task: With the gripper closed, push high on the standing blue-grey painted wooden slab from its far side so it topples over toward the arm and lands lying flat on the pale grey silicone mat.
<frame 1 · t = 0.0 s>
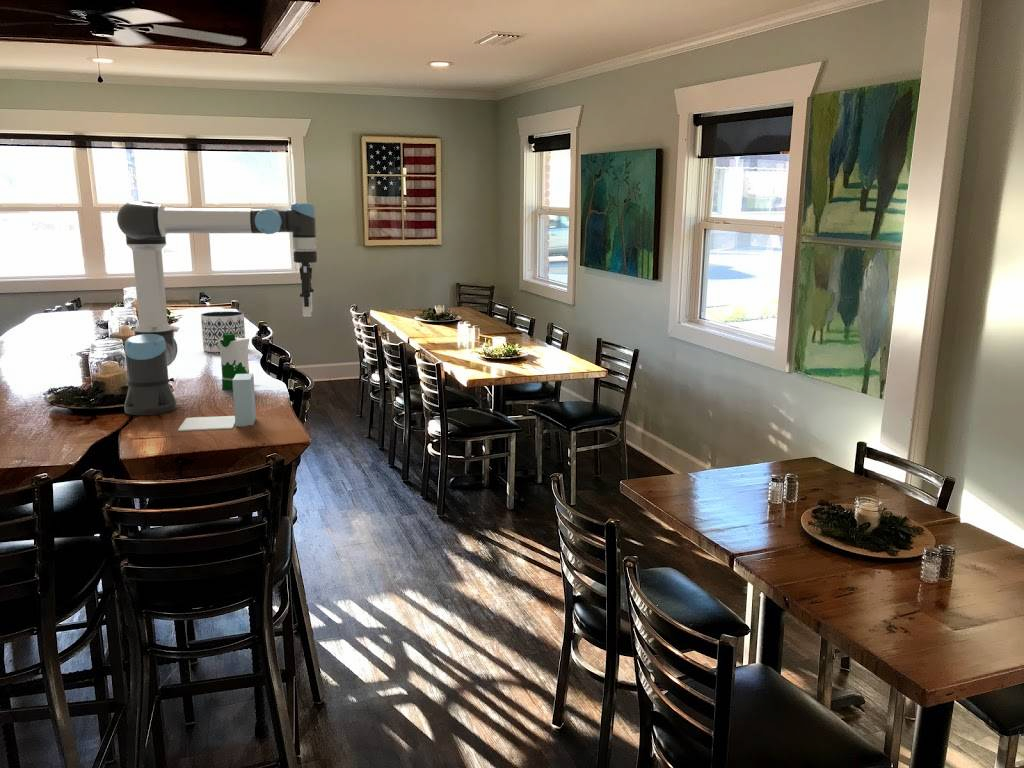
hand: (307, 314, 272), 28 cm above the table, fingers open, 13 cm apart
slab: (246, 422, 242), on the table
planter: (224, 350, 365), on the table
milk carton: (237, 389, 286), on the table
mat: (209, 423, 240), on the table
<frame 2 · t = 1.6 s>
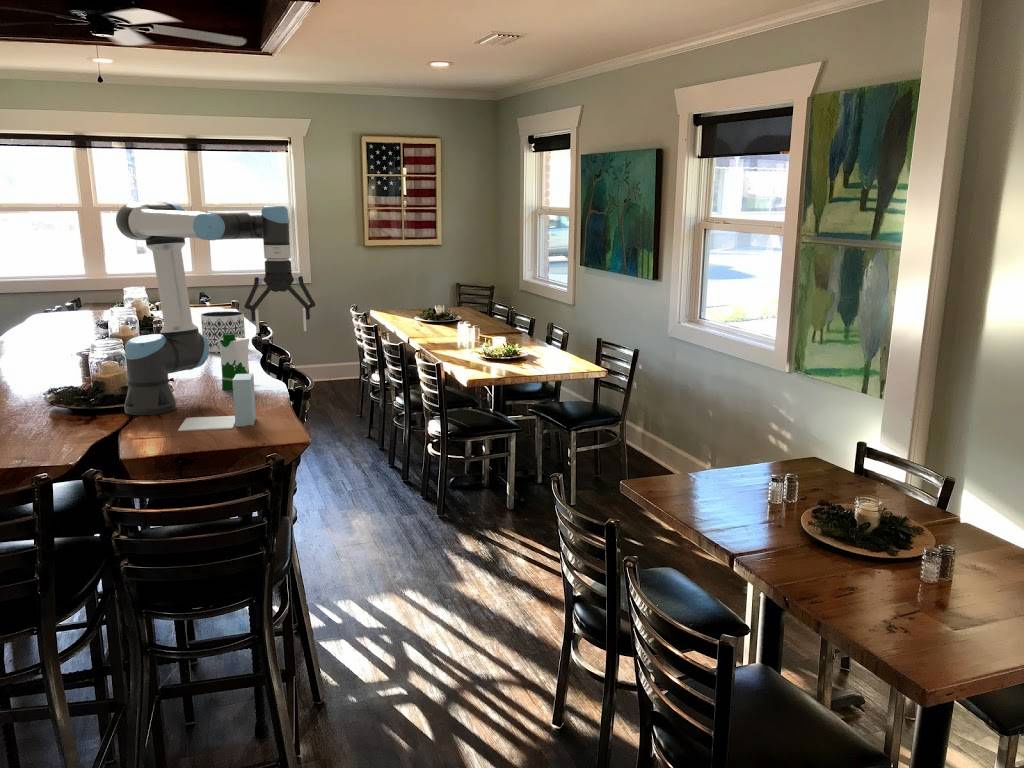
hand: (281, 331, 241), 27 cm above the table, fingers open, 13 cm apart
nothing on the table moved.
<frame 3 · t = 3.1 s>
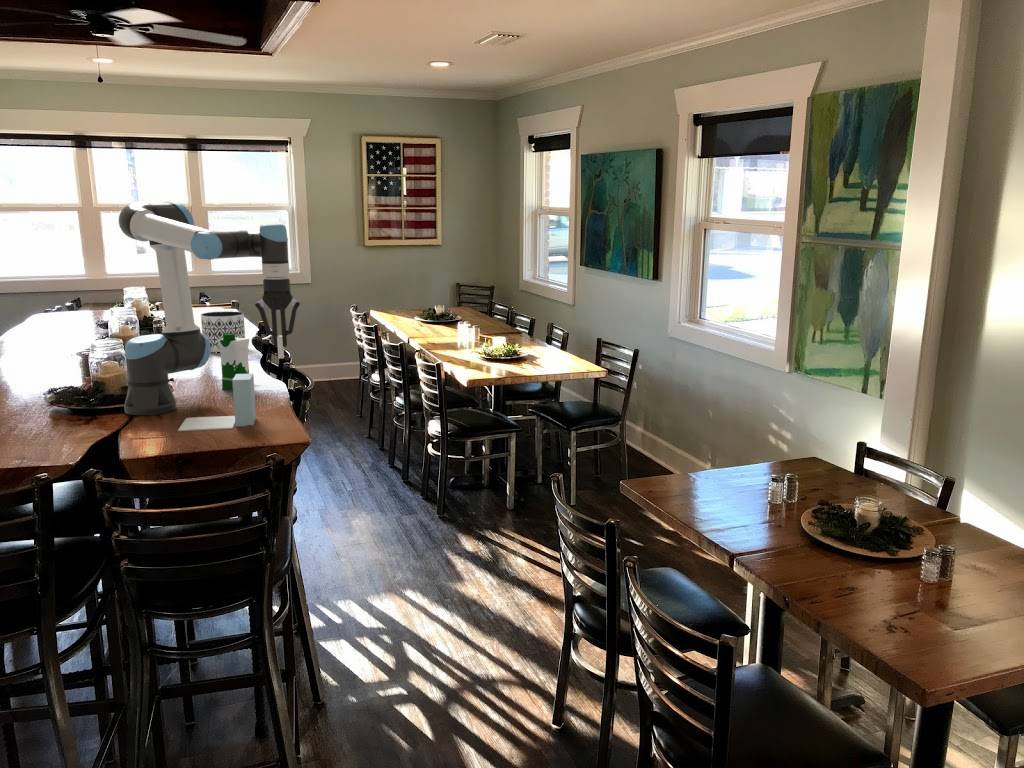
hand: (281, 357, 240), 19 cm above the table, fingers closed
nothing on the table moved.
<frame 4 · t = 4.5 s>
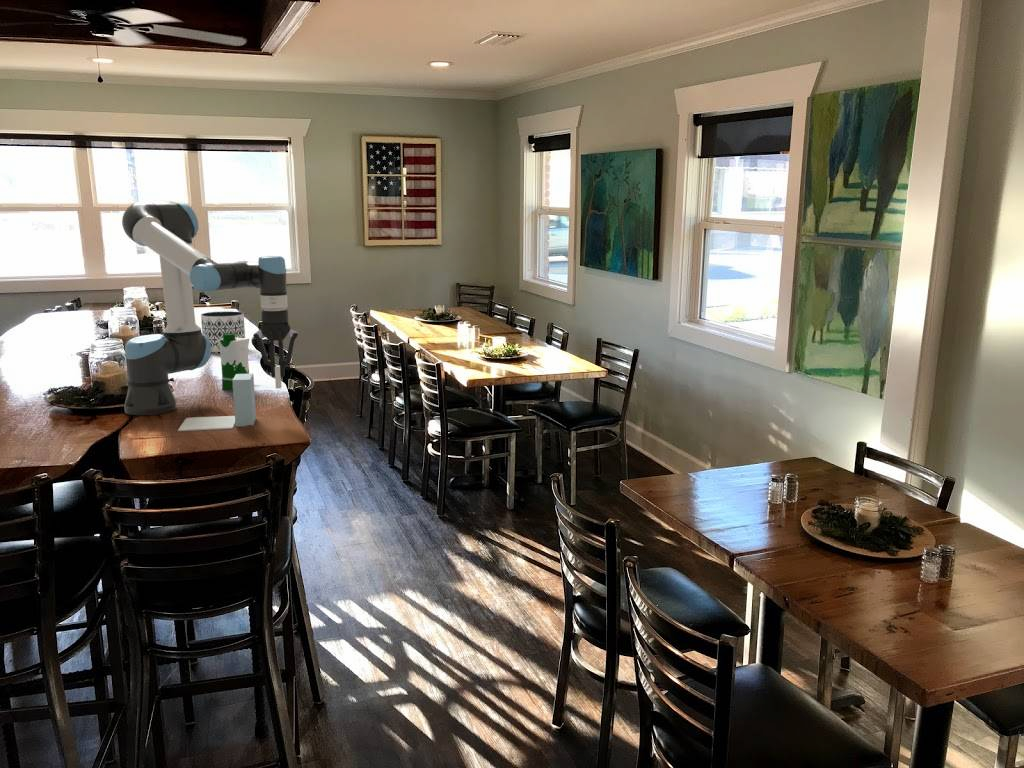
hand: (278, 387, 242), 10 cm above the table, fingers closed
nothing on the table moved.
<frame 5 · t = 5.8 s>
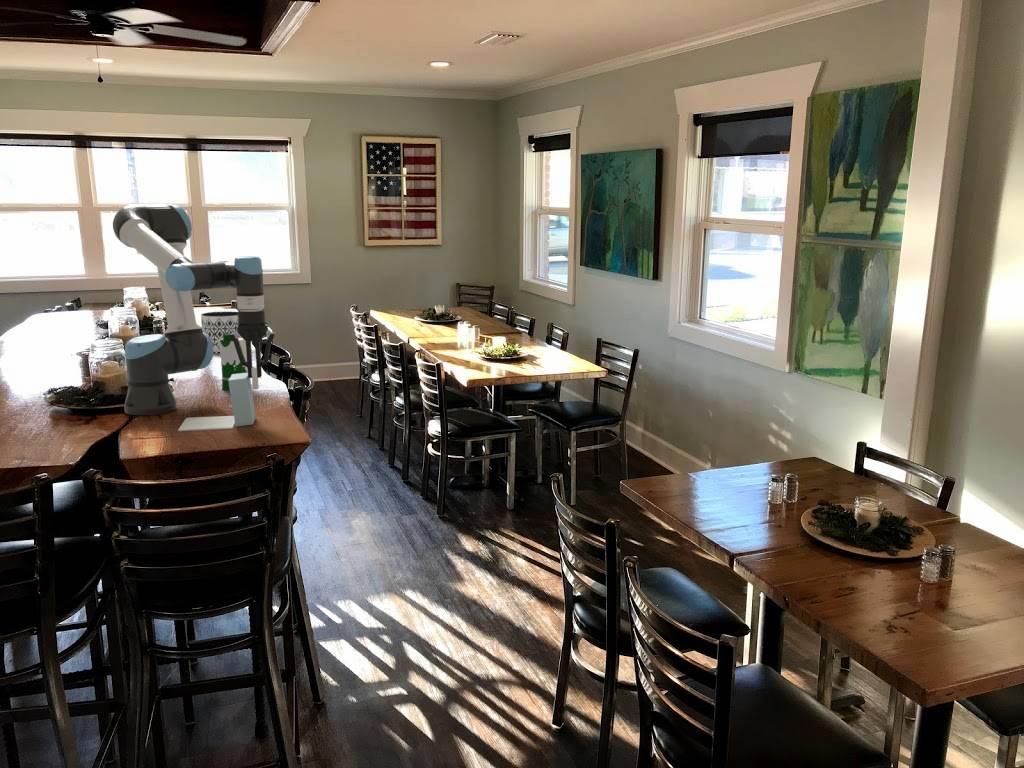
hand: (255, 388, 241), 10 cm above the table, fingers closed
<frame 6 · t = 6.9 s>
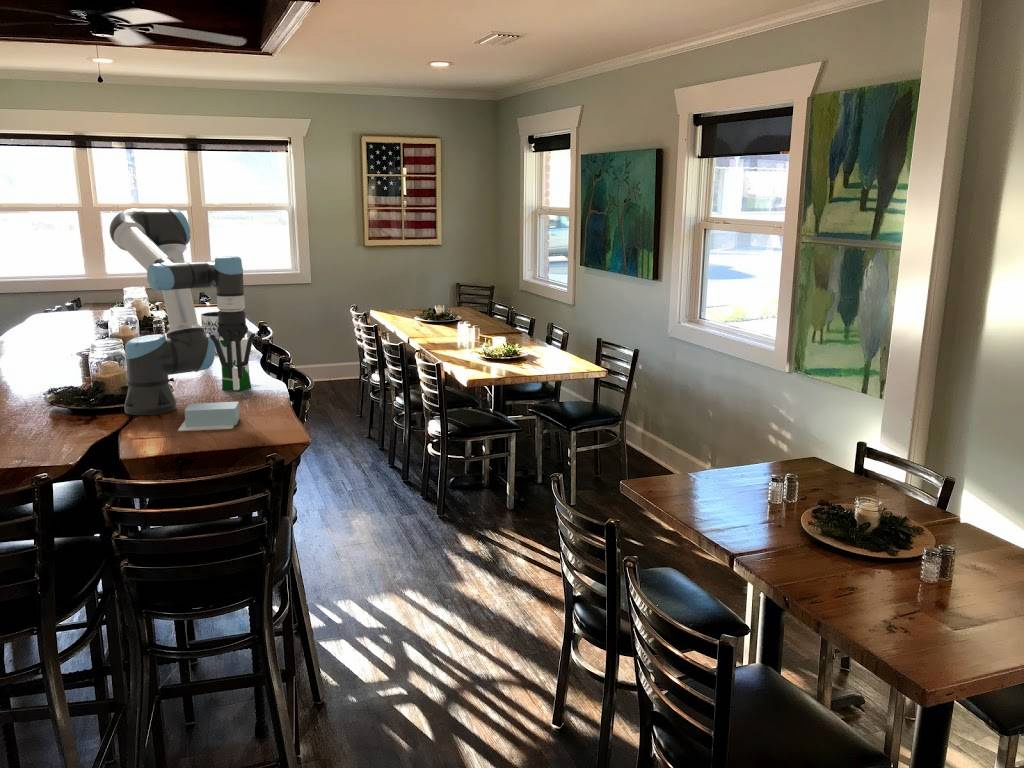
hand: (236, 388, 239), 10 cm above the table, fingers closed
slab: (237, 413, 241), point 3 cm above the table, tilted 90°, touching mat
everything else where it was.
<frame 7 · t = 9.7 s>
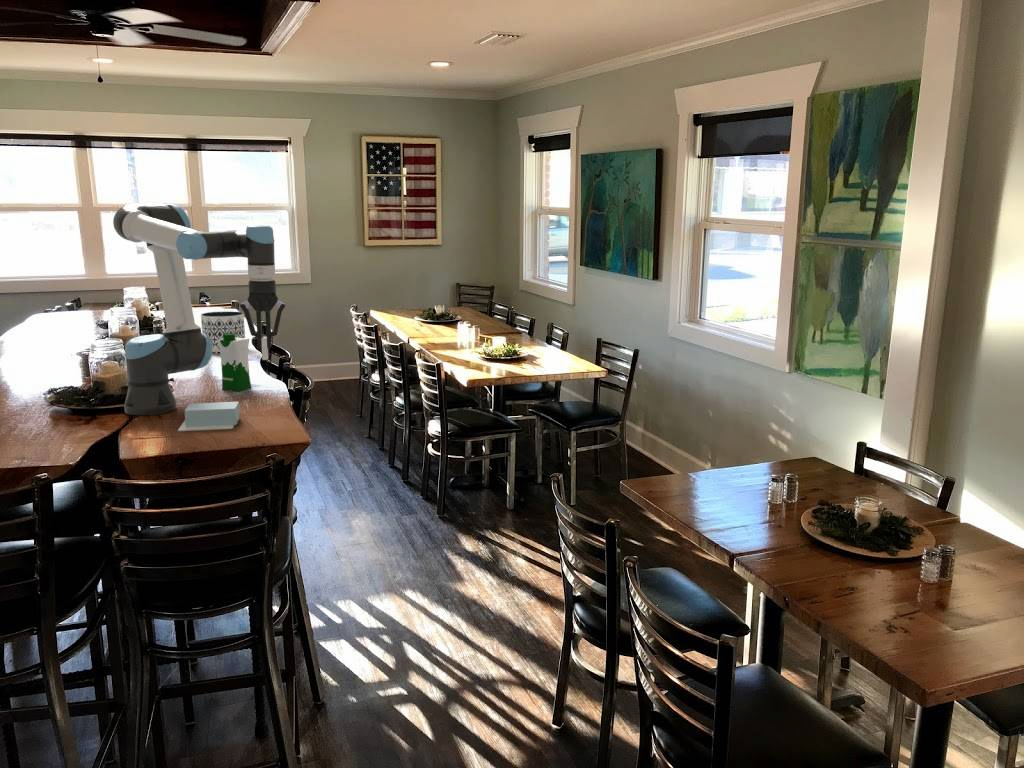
hand: (265, 358, 240), 19 cm above the table, fingers closed
nothing on the table moved.
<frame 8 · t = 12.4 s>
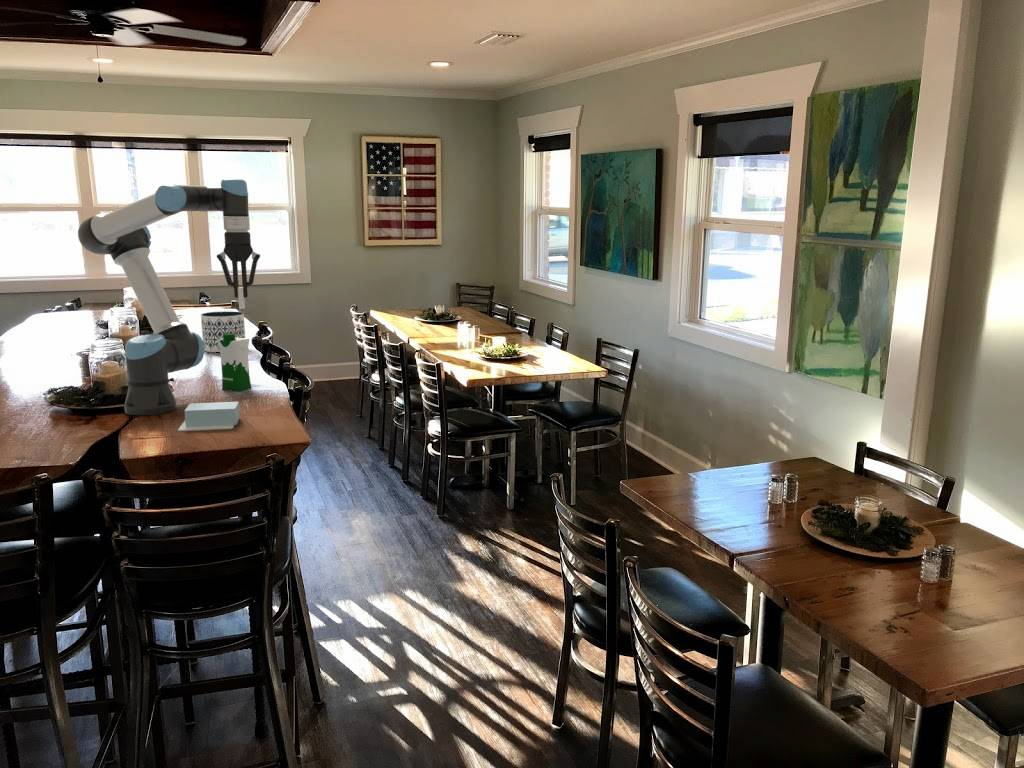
hand: (242, 308, 251), 32 cm above the table, fingers closed
nothing on the table moved.
at the end: slab tilted 90°; slab inside the target area (2.7 cm from its centre), point 2.9 cm above the table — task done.
